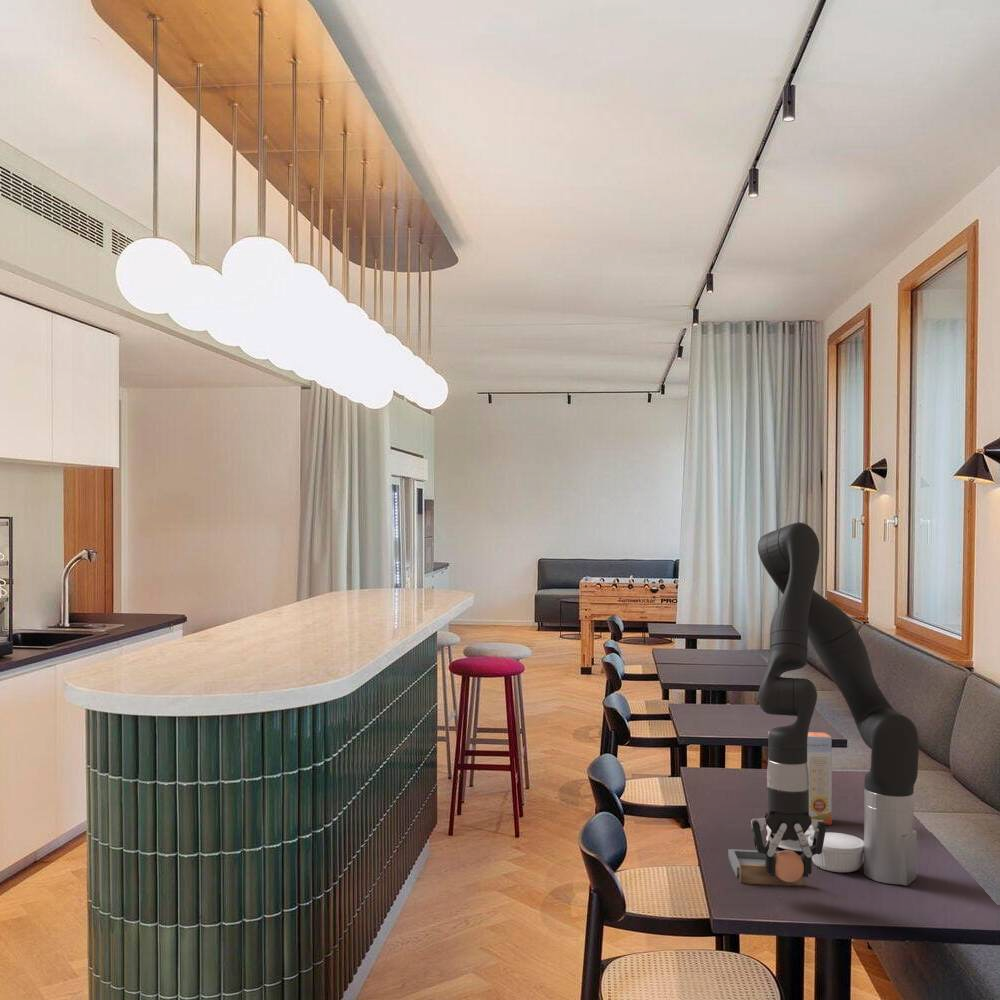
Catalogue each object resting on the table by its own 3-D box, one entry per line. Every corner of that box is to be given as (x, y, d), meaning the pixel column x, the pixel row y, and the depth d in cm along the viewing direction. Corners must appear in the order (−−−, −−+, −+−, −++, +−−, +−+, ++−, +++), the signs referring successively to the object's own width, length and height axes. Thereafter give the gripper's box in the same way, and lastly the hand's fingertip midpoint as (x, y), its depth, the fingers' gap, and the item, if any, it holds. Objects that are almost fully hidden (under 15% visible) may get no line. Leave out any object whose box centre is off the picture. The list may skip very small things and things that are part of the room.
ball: (808, 880, 180) (808, 850, 180) (797, 888, 175) (797, 858, 176) (779, 873, 183) (779, 844, 184) (767, 881, 179) (767, 851, 179)
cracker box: (826, 818, 232) (826, 731, 233) (832, 826, 226) (833, 736, 227) (767, 815, 234) (767, 729, 234) (771, 823, 228) (772, 734, 228)
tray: (781, 861, 201) (781, 851, 201) (793, 880, 190) (793, 869, 190) (728, 858, 202) (728, 849, 202) (736, 877, 191) (736, 867, 191)
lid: (755, 845, 212) (755, 822, 212) (783, 833, 221) (783, 811, 221) (809, 860, 203) (809, 836, 203) (836, 846, 212) (836, 823, 212)
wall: (801, 883, 188) (801, 865, 188) (803, 886, 187) (803, 867, 187) (739, 880, 189) (739, 862, 189) (740, 883, 188) (740, 865, 188)
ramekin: (804, 855, 205) (804, 830, 205) (859, 858, 203) (859, 833, 204) (812, 873, 194) (812, 846, 194) (870, 876, 192) (870, 850, 192)
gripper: (821, 780, 183) (821, 869, 183) (745, 778, 184) (745, 867, 184) (832, 790, 176) (833, 884, 175) (753, 789, 177) (753, 882, 176)
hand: (788, 875), depth 179 cm, fingers closed on ball, 5 cm apart
